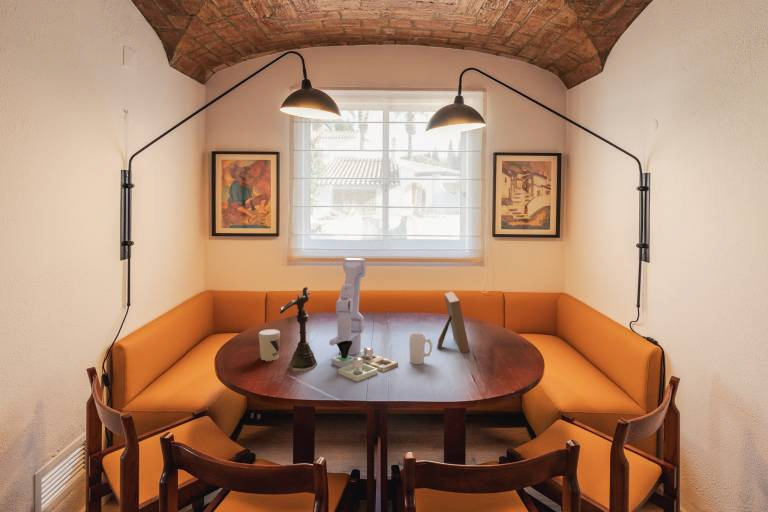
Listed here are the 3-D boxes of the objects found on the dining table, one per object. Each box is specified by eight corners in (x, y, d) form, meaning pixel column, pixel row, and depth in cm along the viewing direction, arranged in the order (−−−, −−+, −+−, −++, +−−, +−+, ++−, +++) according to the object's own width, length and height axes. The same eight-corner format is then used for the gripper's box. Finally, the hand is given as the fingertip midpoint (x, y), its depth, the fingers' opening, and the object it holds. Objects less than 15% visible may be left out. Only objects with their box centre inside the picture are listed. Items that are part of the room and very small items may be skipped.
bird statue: (271, 372, 168) (270, 287, 164) (283, 360, 181) (282, 282, 177) (310, 374, 166) (310, 289, 162) (320, 363, 178) (319, 283, 175)
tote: (338, 374, 166) (338, 368, 166) (358, 367, 174) (358, 361, 174) (357, 382, 158) (357, 376, 158) (377, 374, 166) (377, 368, 166)
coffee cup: (274, 362, 179) (274, 335, 177) (255, 360, 180) (254, 334, 179) (284, 355, 188) (283, 329, 186) (265, 353, 190) (264, 328, 188)
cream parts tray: (353, 361, 180) (353, 357, 180) (368, 356, 187) (368, 352, 187) (383, 373, 168) (383, 368, 168) (398, 367, 174) (398, 362, 174)
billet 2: (361, 361, 180) (361, 348, 180) (368, 359, 183) (368, 346, 183) (368, 364, 178) (368, 350, 177) (374, 361, 181) (374, 348, 180)
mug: (408, 364, 178) (408, 337, 177) (409, 358, 185) (410, 332, 183) (431, 365, 177) (432, 338, 175) (432, 360, 183) (432, 333, 182)
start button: (337, 363, 176) (337, 357, 176) (344, 360, 179) (344, 355, 179) (343, 366, 173) (343, 360, 173) (351, 363, 176) (351, 357, 176)
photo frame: (461, 338, 215) (463, 291, 212) (469, 352, 193) (471, 300, 191) (433, 338, 215) (434, 291, 213) (438, 352, 194) (439, 300, 191)
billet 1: (351, 373, 166) (351, 358, 165) (358, 370, 169) (358, 356, 168) (357, 376, 163) (357, 361, 162) (365, 373, 166) (365, 358, 165)
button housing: (331, 365, 176) (331, 358, 176) (345, 360, 182) (345, 353, 181) (343, 369, 171) (343, 362, 171) (356, 365, 176) (356, 358, 176)
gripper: (337, 332, 167) (337, 364, 168) (363, 325, 177) (363, 355, 178) (326, 328, 171) (326, 360, 173) (352, 322, 182) (352, 352, 183)
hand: (344, 357), depth 176 cm, fingers closed, pressing on start button
